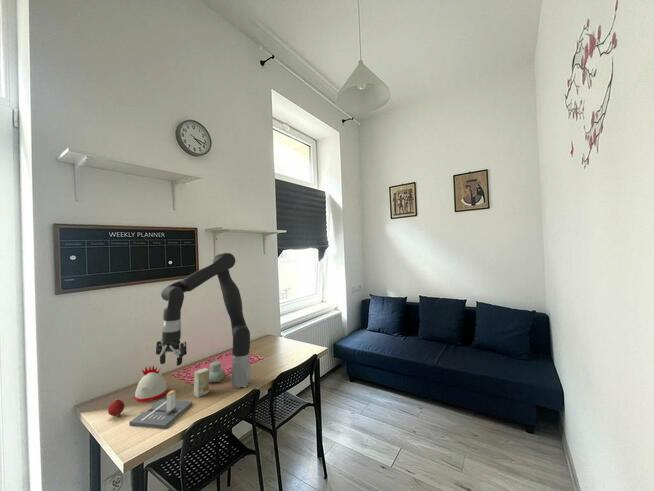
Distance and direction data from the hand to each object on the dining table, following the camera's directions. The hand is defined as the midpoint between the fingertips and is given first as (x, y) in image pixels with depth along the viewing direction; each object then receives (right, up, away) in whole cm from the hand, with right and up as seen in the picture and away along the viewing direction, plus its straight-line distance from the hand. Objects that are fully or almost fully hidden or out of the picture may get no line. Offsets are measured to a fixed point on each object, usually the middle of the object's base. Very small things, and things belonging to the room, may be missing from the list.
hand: (170, 364), depth 123 cm
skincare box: (+6, -23, +17) cm, 29 cm away
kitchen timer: (-20, -23, +16) cm, 35 cm away
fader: (+1, -21, -2) cm, 21 cm away
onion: (-23, -23, -3) cm, 33 cm away
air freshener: (+7, -24, +32) cm, 40 cm away
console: (-3, -23, -1) cm, 23 cm away
